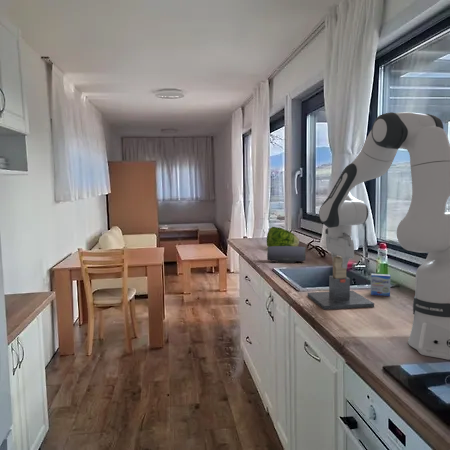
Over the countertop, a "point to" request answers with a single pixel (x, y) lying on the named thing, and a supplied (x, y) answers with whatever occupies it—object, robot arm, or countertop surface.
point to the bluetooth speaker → (286, 254)
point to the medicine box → (380, 284)
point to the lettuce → (281, 237)
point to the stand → (339, 296)
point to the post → (338, 268)
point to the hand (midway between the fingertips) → (339, 265)
